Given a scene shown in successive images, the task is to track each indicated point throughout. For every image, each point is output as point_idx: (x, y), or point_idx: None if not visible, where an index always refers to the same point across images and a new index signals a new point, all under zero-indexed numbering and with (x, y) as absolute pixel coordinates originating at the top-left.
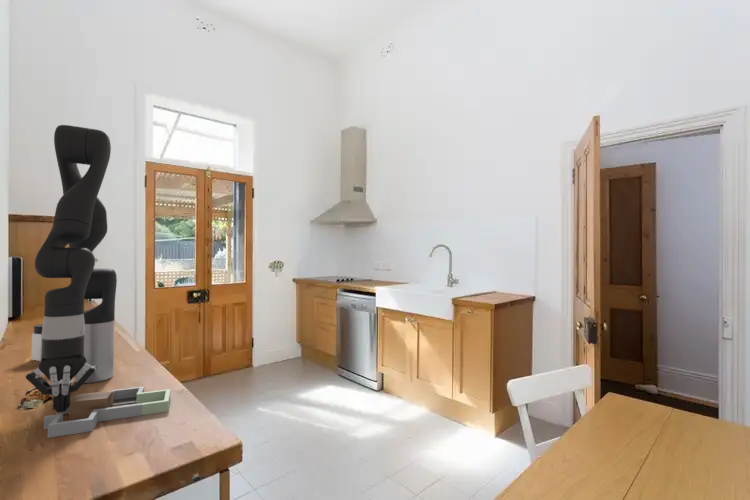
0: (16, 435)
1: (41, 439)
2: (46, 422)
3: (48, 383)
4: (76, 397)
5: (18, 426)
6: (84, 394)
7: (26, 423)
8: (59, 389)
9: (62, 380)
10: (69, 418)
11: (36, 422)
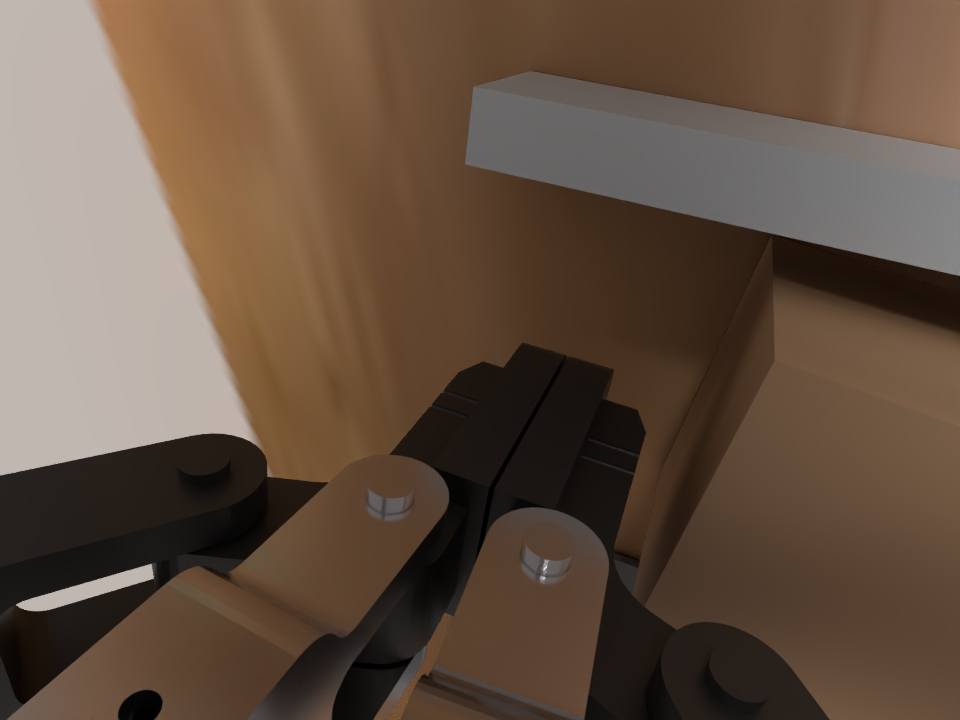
0: (311, 470)
1: None
2: None
3: (93, 556)
4: (718, 538)
5: (257, 271)
6: (881, 469)
7: (295, 230)
8: (390, 621)
9: (316, 644)
10: (656, 492)
11: (372, 262)
